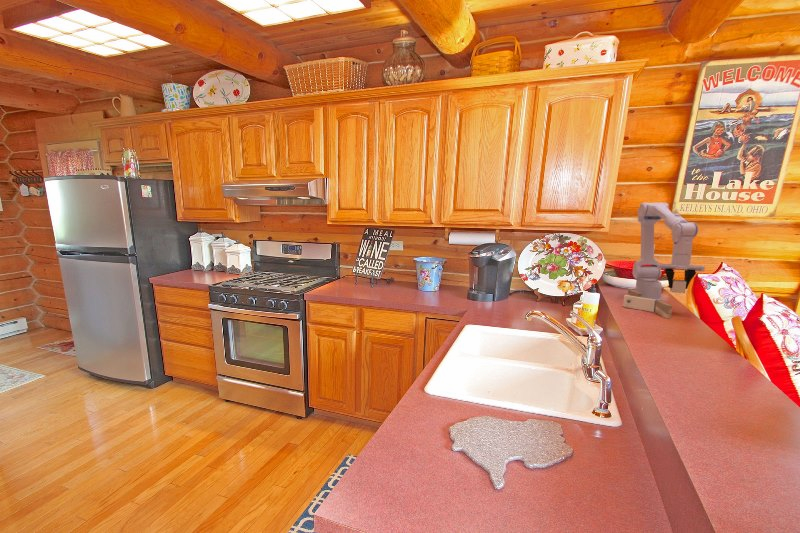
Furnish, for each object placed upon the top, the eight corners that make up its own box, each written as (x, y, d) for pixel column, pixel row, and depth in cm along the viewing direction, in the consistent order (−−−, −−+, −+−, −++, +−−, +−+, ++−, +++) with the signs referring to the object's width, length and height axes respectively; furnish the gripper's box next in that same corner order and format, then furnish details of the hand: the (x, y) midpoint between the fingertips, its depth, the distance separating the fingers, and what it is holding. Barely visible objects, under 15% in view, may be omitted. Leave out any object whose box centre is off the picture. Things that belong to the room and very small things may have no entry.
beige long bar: (630, 300, 162) (631, 289, 161) (670, 318, 134) (672, 305, 134) (627, 300, 162) (628, 289, 161) (666, 318, 134) (668, 305, 134)
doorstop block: (669, 290, 142) (671, 279, 141) (682, 291, 140) (683, 280, 139) (672, 292, 138) (673, 281, 138) (685, 293, 137) (686, 281, 136)
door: (623, 306, 151) (625, 294, 151) (657, 312, 142) (659, 300, 141) (622, 307, 150) (623, 295, 149) (656, 313, 141) (657, 301, 140)
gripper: (661, 254, 136) (657, 288, 139) (709, 256, 130) (704, 291, 132) (657, 252, 143) (653, 285, 145) (702, 253, 136) (698, 288, 139)
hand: (677, 288), depth 139 cm, fingers closed on doorstop block, 4 cm apart
